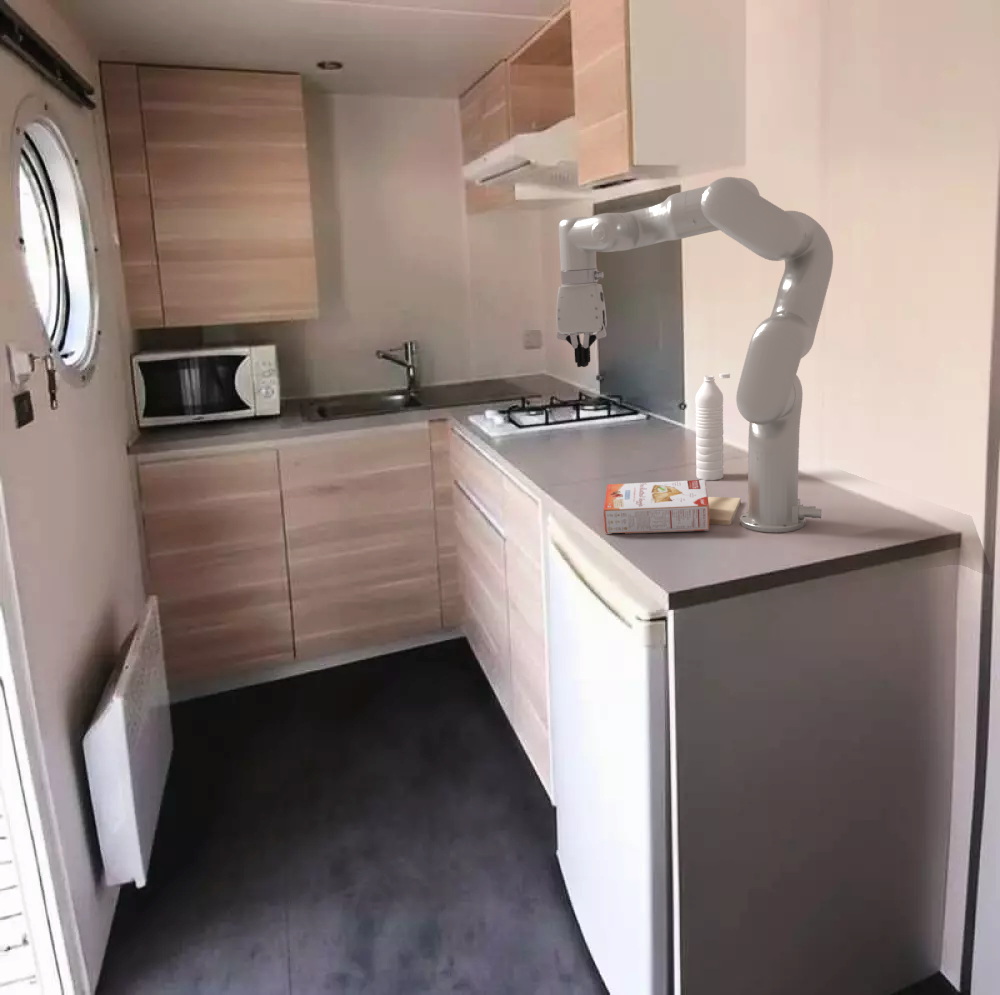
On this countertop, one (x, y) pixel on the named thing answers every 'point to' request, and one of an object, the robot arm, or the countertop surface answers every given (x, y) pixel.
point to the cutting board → (722, 509)
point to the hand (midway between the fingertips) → (582, 365)
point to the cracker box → (656, 507)
